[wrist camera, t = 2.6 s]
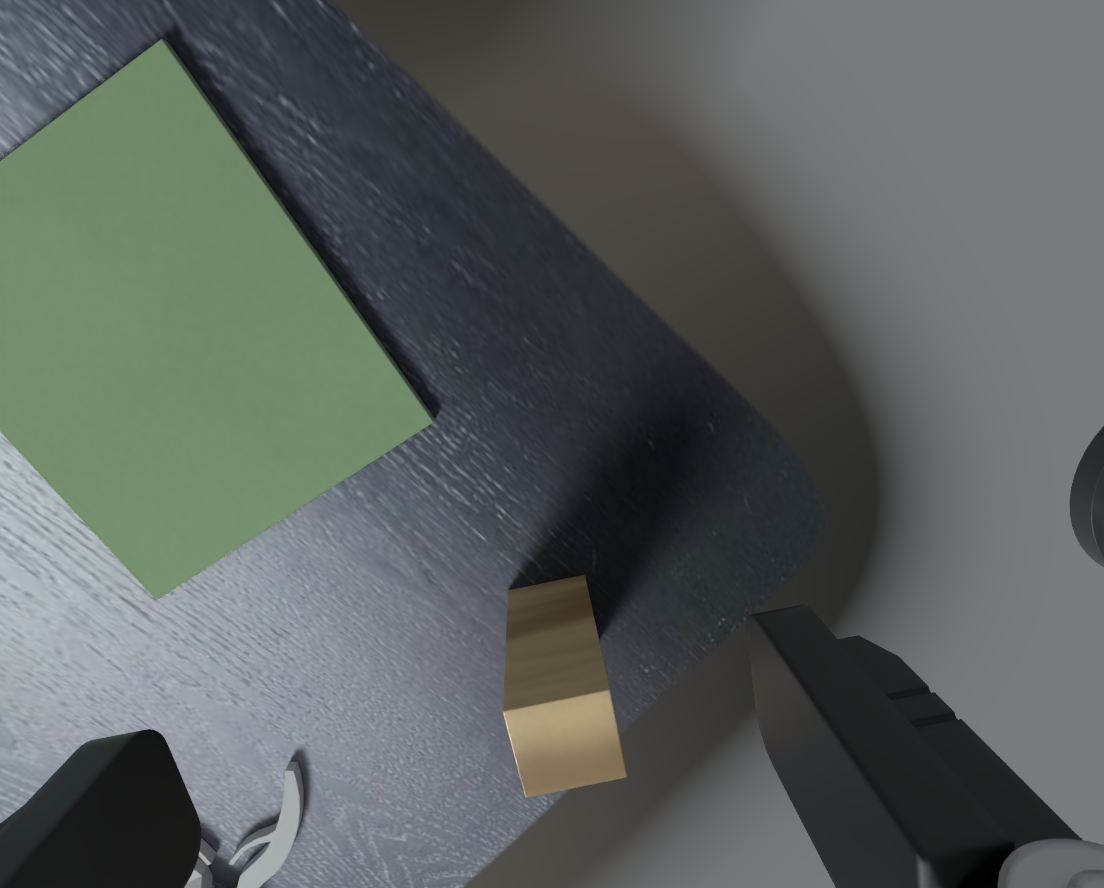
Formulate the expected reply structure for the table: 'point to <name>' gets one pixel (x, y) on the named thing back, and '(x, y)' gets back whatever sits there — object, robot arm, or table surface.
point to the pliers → (261, 840)
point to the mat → (177, 331)
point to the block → (558, 690)
